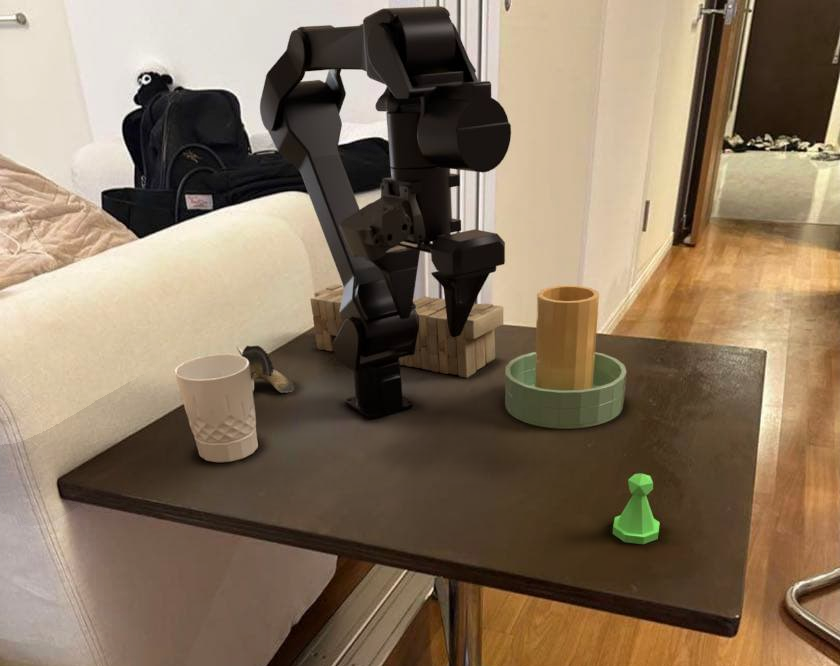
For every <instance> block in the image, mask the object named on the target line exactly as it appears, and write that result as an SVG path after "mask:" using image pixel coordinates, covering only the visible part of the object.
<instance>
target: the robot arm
mask: <svg viewBox="0 0 840 666" xmlns="http://www.w3.org/2000/svg"><path fill="white" fill-rule="evenodd" d="M450 17H451V13H450V11H449V9H447V8H446V7H445V6H442V5H435V6H434V5H433V6H410V7H388V8H386V7H385V8H381V9H379V10H377V11H375V12H373V13H371V14H368V15H367V16H365V17H364V18H363V20H362V23H360V24H359V25H350V26H336V27H335V26H333V25H330V24H328V25H327V24H326V25H324V24H323V25H310V26H309V25H307V26H299V27H297V28H296V29H294V30H292V31H291V33H290V34H289V38H288V42H287V46H286V49H285V51H284V52H283V53H282V55H280V57H279V58H278V60H276V61H275V63H274V64H273V66H271V68H270V69H269V70H268V71H267V73H266V74H265V79H264V85H263V87H262V91H261V97H260V101H259V111H260V112H259V114H260V118H261V122H262V125H263V127H264V128H265V130H267V132H268V134H269V136H270V138H271V140H272V142H273V145H274V146H275V149H276V151H277V152H278V153H279V155H281V156H283V158H285V160H286V161H288V162H289V163H291V164H292V165H293V166H294V167H295V168H297V169H298V170H299V172H300V173H299V174H300V175H301V178H302V180H303V183H304V186H305V188H306V191H307V193H308V197H309V199H310V202H311V204H312V207H313V209H314V213H315V214H316V217H317V220H318V222H319V225H320V227H321V230H322V233H323V236H324V238H325V241H326V245H327V246H328V249H329V252H330V255H331V256H332V258H333V262H334V265H335V267H336V270H337V273H338V275H339V278H340V280H341V283H342V286H343V287H344V290H343V295H342V301H341V306H340V317H341V320H342V324H343V325H342V327H341V329H340V330H339V332H338V334H337V336H336V338H335V340H334V342H333V349H334V351H333V352H334V356H335V360H336V362H338V363H339V364H341V365H343V366H345V367H346V368H348V369H350V370H352V373H353V381H354V391H355V396H353V397H349V398H346V399H345V404H346V405H347V406H348V407H350V408H351V409H353V410H355V411H356V412H357V413H359V414H360V415H362V416H363V417H365V418H366V419H369V420H370V419H371V420H372V419H376V418H379V417H382V416H383V417H384V416H386V415H389V414H392V413H396V412H399V411H402V410H403V411H404V410H406V409H409V408H412V407H414V401H412V400H411V399H409V398H407V397H406V396H404V395H403V381H402V374H401V365H400V361H399V358H401V357H405V356H408V355H410V356H411V355H414V353H415V347H416V341H417V335H418V330H419V319H418V315H417V312H416V310H415V308H416V306H415V304H414V303H413V301H414V296H415V291H416V290H415V289H416V284H417V283H416V282H417V275H418V268H419V261H420V253H421V252H424V253H427V254H430V260H431V262H432V265H433V266H434V268H435V270H436V271H432V272H431V276H432V277H433V278H434V279H435V280H436V281H437V282H438V283H439V284H440V285H441V286H442V289H443V296H444V299H445V305H446V314H447V322H448V328H449V333H450V336H451V337H457V336H460V335H461V333H462V331H463V328H464V326H465V324H466V321H467V319H468V317H469V314H470V312H471V310H472V307H473V305H474V304H476V301H477V298H478V297H479V295H480V293H481V290H482V289H483V287H484V285H485V284H486V281H487V279H488V278H489V276H490V274H493V273H495V272H496V271H497V267H499V266H504V265H505V263H506V242H505V241H504V239H503V238H502V237H501V236H500V235H499V234H498V233H496V232H491V231H486V230H481V229H470V230H466V231H462V219H457V218H453V207H452V204H453V203H452V188H455V187H460V186H461V180H460V179H461V177H460V173H459V174H458V173H451V170H457V171H458V170H459V171H465V172H466V171H467V172H475V173H488V172H491V171H492V170H494V169H496V168H497V167H498V166H499V165H500V164H501V163H502V162H503V160H504V159H505V157H506V156H507V152H508V151H509V148H510V144H511V137H512V125H511V123H510V122H509V117H508V115H507V113H506V110H505V108H504V107H503V106H502V104H501V103H500V102H499V101H498V100H496V99H494V98H493V97H492V83H491V81H490V80H485V81H484V80H482V81H479V79H478V77H477V75H476V73H477V70H476V68H475V66H474V65H473V63H472V62H471V60H470V58H469V55H468V53H467V50H466V48H465V46H464V43H463V41H462V38H461V36H460V34H459V32H458V29H457V27H456V25H455V24H454V22H452V21H453V20H452V19H451V18H450ZM342 70H351V71H353V70H358V71H360V70H361V71H364V72H366V76H367V77H368V78H369V79H371V80H373V81H375V82H378V83H380V84H383V85H385V86H386V87H385V90H384V91H383V93H382V94H381V95H380V96H379V97H378V99H377V101H376V103H375V110H376V111H377V112H382V113H383V112H386V125H387V126H386V127H387V140H388V142H387V143H388V152H389V153H388V154H389V166H390V177H384V178H382V182H381V183H380V198H378V199H376V200H374V201H373V202H370V203H367V204H366V205H365V206H363V207H361V208H360V206H359V204H358V201H357V199H356V196H355V193H354V190H353V188H352V186H351V185H352V184H351V183H350V180H349V177H348V175H347V172H346V169H345V167H344V164H343V162H342V159H341V156H340V153H339V149H338V148H339V142H340V138H341V133H342V127H343V123H342V119H341V116H340V115H341V111H342V107H343V104H344V102H345V99H346V95H347V91H346V88H345V86H344V82H343V79H342V76H341V72H342ZM317 71H318V72H320V71H327V75H326V78H325V81H323V80H320V79H313V80H304V81H303V79H304V78H305V75H306V73H307V72H317Z"/></svg>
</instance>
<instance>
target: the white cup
mask: <svg viewBox="0 0 840 666" xmlns="http://www.w3.org/2000/svg"><path fill="white" fill-rule="evenodd" d="M174 372H175V373H174V374H175V377H176V381H177V385H178V388H179V392H180V396H181V400H182V403H183V407H184V410H185V414H186V417H187V420H188V424H189V427H190V430H191V433H192V434H193V437H194V441H195V444H196V449H197V452H198V455H199V457H200V458H202V459H203V460H205V461H207V462H213V463H231V462H235V461H239V460H243V459H245V458H247V457H249V456H251V455H253V454H254V453H255V451H256V450H257V449H258V448H259V443H258V441H259V440H258V436H257V426H256V425H257V418H256V405H255V399H254V391H253V389H252V382H251V373H250V365H249V361H248V359H246V358H245V357H242V355H238V354H231V353H215V354H209V355H202V356H198V357H195V358H191V359H189V360H186V361H184V362H183V363H181V364H179V365H178V366H177V367H176V368H175V371H174Z"/></svg>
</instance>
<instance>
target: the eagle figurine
mask: <svg viewBox="0 0 840 666" xmlns="http://www.w3.org/2000/svg"><path fill="white" fill-rule="evenodd" d="M236 349H237V351H238V353H239V354H240V356H242V357H245V358H246V359H248V361H249V365H250V373H251V382H252V389H253V392H254V391H255V380H258V379H262V380H264V381H266V382H267V383H269V384H270V385H272V387H274V389H276V390H277V391H278V392H279V393H280V394H282V393H283V394H288V393H292V392H294V391H295V386H294V383H293V382H292V381H291V380H290V379H289V378H288V377H287V376H285V375H284V374H283V373H281V372H279V371H277V370H276V369H275V367H274V365H273V361H272V360H271V357H270V356H269V353H267V352H266V350H265V349H264V348H263V347H261V346H260V345H247V346H245V348H244V349H242V348H240V347H239V346H236Z"/></svg>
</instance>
